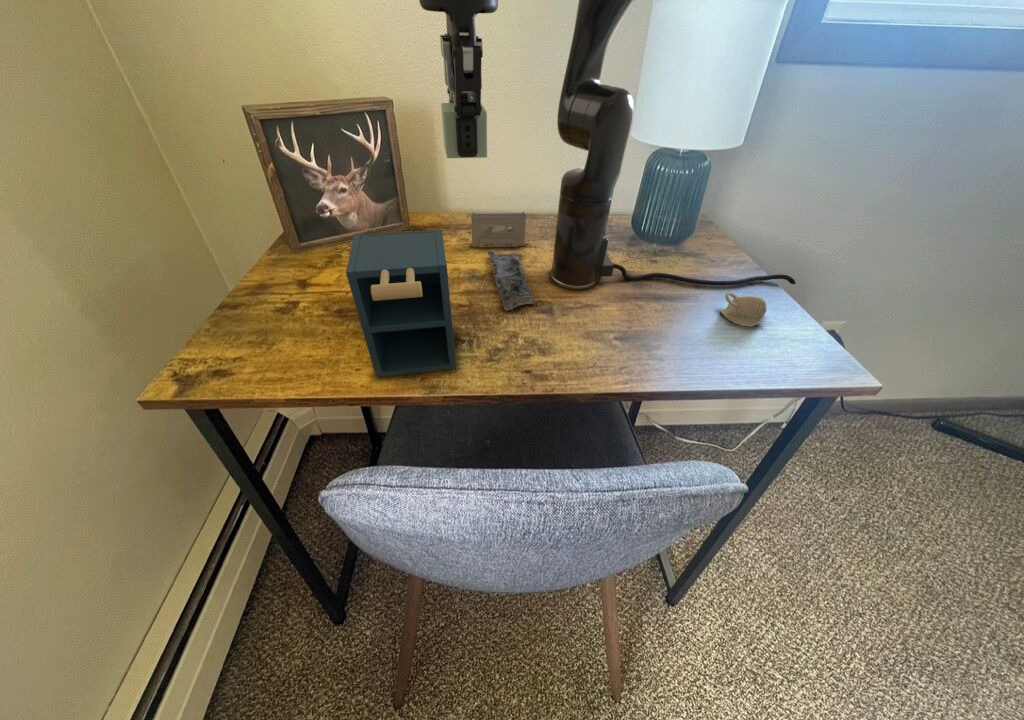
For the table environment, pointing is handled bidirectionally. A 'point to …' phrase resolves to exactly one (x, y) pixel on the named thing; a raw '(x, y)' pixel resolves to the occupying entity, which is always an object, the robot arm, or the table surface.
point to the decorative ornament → (745, 309)
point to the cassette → (498, 237)
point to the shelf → (403, 301)
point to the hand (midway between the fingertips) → (465, 148)
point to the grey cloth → (510, 280)
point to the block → (451, 135)
